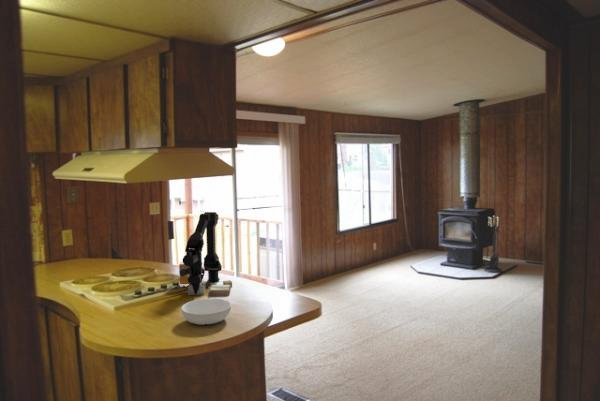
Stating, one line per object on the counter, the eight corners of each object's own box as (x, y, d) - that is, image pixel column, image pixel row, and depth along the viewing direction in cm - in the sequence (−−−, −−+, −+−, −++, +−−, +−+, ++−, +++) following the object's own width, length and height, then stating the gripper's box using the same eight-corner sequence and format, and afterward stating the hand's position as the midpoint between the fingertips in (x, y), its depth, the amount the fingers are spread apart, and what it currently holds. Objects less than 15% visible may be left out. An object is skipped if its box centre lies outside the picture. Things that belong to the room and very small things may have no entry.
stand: (211, 290, 245) (211, 285, 245) (230, 289, 246) (230, 284, 246) (209, 296, 236) (209, 290, 235) (229, 295, 236) (229, 289, 236)
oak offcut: (223, 286, 254) (223, 281, 254) (230, 285, 256) (230, 280, 255) (225, 288, 250) (224, 282, 250) (232, 287, 252) (232, 281, 252)
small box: (179, 287, 252) (178, 264, 250) (181, 284, 258) (180, 261, 257) (195, 287, 253) (194, 263, 252) (195, 284, 259) (195, 261, 258)
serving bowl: (173, 329, 190) (173, 312, 190) (192, 312, 211) (192, 297, 210) (223, 330, 187) (222, 314, 187) (237, 313, 208) (236, 298, 207)
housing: (190, 292, 243) (189, 282, 243) (205, 292, 243) (205, 282, 243) (188, 295, 238) (187, 285, 238) (203, 294, 239) (203, 284, 238)
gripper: (183, 258, 248) (184, 286, 249) (176, 266, 230) (178, 297, 231) (204, 257, 249) (205, 286, 250) (199, 265, 230) (200, 296, 232)
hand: (197, 291), depth 241 cm, fingers open, 9 cm apart
